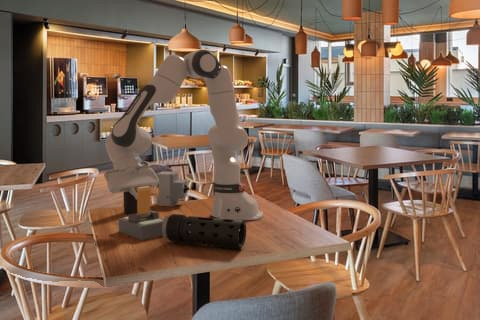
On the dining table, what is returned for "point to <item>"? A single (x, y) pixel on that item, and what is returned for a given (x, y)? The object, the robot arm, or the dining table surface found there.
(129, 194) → the bottle
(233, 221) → the muzzle brake
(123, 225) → the panel
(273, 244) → the dining table surface
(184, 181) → the circuit breaker
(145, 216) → the lever
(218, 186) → the robot arm
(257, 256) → the dining table surface
